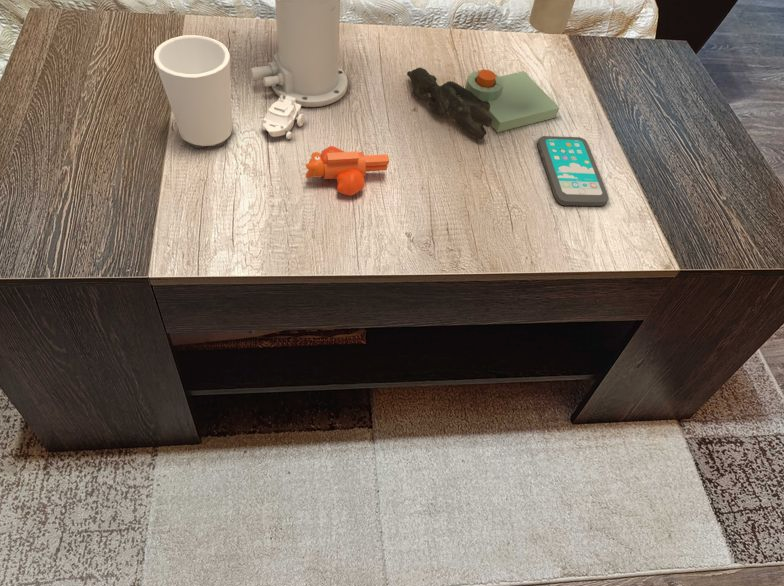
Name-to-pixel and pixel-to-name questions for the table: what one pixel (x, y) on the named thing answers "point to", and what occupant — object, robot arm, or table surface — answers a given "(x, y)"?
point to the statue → (452, 102)
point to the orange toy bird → (345, 167)
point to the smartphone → (572, 171)
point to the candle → (551, 15)
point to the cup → (197, 87)
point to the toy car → (282, 117)
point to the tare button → (486, 78)
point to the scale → (514, 100)
